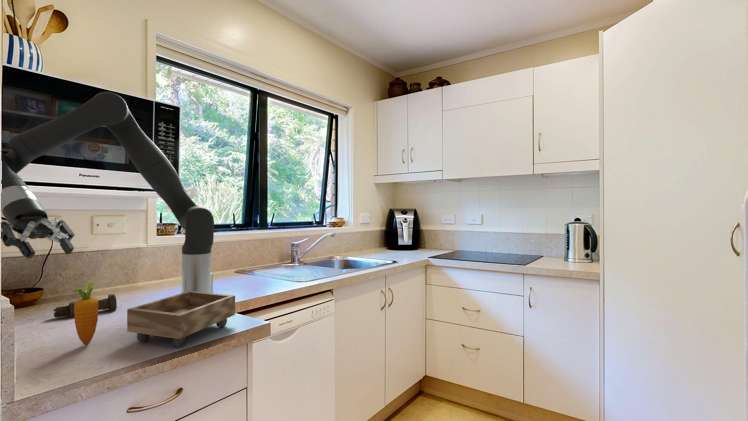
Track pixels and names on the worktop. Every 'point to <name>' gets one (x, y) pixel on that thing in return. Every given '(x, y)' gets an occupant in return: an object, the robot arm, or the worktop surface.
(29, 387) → the worktop surface
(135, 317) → the caster cart
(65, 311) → the bolt
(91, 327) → the carrot
